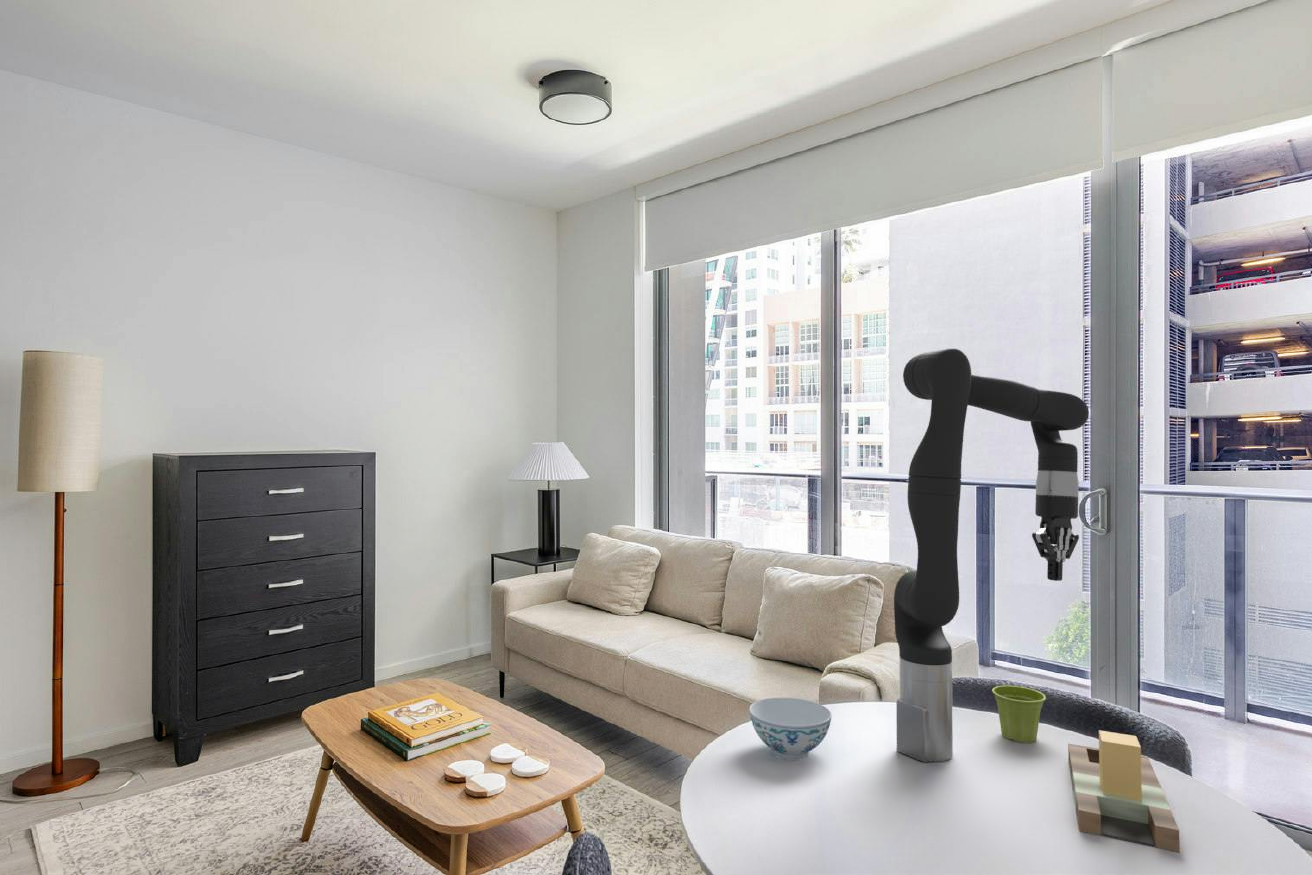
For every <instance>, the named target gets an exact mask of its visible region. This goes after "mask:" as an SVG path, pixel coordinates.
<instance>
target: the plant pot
mask: <svg viewBox="0 0 1312 875" xmlns="http://www.w3.org/2000/svg"><path fill="white" fill-rule="evenodd" d="M991 692H992V694H993V695H994V698H995V701H996V705H997V710H998V711H997V712H998V717H999V718H998V719H999V724H1000V731H1001V736H1002V737H1004V738H1006V739H1007V740H1014V741H1016V742H1018V743H1022V744H1023V743H1026V744H1031V743H1034V742H1035V741H1036V740H1037V738H1038V737H1037V736H1038V731H1039V723H1040V717H1041V711H1042V707H1044V702H1045V701H1046V699H1047V696H1046V695H1045V694H1044V693H1043V692H1041V691H1039V690H1036V689H1032V688H1028V687H1024V686H1019V685H1018V686H1017V685H997V686H995V687H993V688H992V689H991Z"/></svg>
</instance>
